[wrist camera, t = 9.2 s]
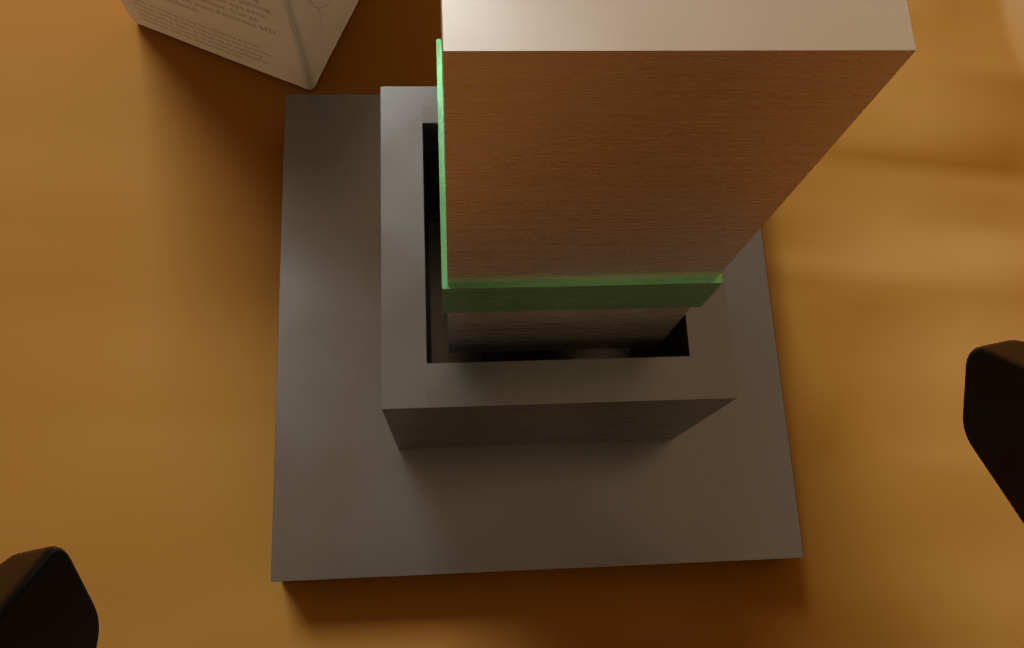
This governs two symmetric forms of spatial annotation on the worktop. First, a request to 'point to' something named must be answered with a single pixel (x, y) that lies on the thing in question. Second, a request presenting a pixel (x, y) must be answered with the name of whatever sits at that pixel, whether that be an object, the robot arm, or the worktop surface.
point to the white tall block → (631, 151)
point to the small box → (254, 31)
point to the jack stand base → (494, 393)
